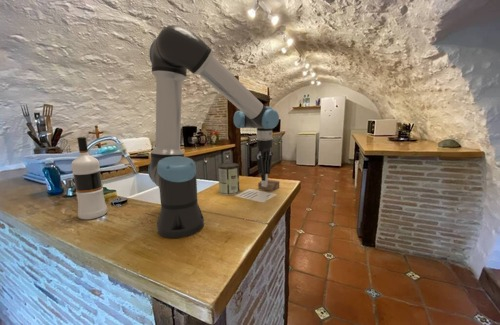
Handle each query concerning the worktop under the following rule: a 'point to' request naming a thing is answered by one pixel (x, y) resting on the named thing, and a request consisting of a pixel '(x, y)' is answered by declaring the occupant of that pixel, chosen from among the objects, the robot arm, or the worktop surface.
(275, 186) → the walnut block
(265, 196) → the letter
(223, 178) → the coffee can
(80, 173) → the vodka
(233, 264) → the worktop surface
